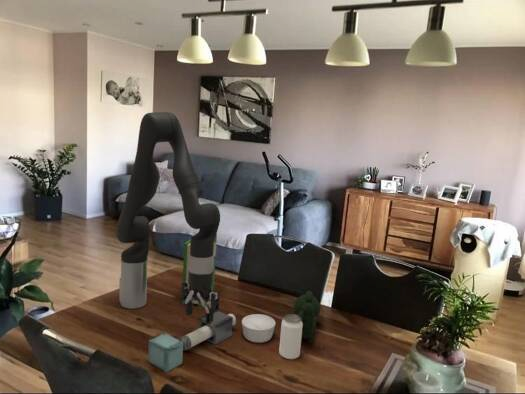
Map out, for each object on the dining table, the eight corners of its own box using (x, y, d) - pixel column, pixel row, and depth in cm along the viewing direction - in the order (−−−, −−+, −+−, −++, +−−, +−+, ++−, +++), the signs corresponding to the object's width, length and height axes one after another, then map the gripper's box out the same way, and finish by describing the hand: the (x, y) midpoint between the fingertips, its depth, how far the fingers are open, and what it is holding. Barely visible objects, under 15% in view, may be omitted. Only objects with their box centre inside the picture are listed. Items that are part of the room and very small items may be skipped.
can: (298, 361, 126) (302, 324, 124) (277, 357, 128) (280, 321, 125) (300, 350, 133) (304, 315, 131) (280, 347, 134) (283, 312, 132)
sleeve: (198, 336, 137) (199, 317, 136) (215, 327, 143) (216, 309, 142) (215, 344, 132) (216, 325, 131) (231, 335, 139) (233, 317, 138)
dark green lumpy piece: (318, 355, 134) (318, 314, 158) (324, 302, 129) (323, 268, 153) (289, 351, 135) (293, 311, 159) (293, 298, 130) (297, 265, 154)
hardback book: (200, 306, 158) (203, 245, 154) (181, 304, 159) (184, 243, 155) (213, 289, 175) (216, 233, 171) (196, 286, 176) (199, 231, 172)
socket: (148, 361, 121) (148, 340, 120) (164, 353, 126) (165, 333, 124) (166, 372, 116) (166, 350, 115) (182, 363, 121) (183, 342, 120)
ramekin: (235, 339, 136) (236, 324, 136) (248, 325, 147) (249, 311, 146) (267, 348, 133) (269, 332, 132) (278, 332, 143) (279, 318, 142)
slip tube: (178, 347, 128) (179, 334, 127) (226, 322, 145) (227, 311, 144) (188, 352, 125) (188, 339, 124) (235, 326, 143) (236, 315, 142)
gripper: (175, 265, 128) (174, 315, 131) (209, 278, 120) (206, 331, 122) (193, 260, 134) (191, 308, 137) (226, 272, 126) (224, 322, 128)
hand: (198, 318), depth 129 cm, fingers open, 8 cm apart
